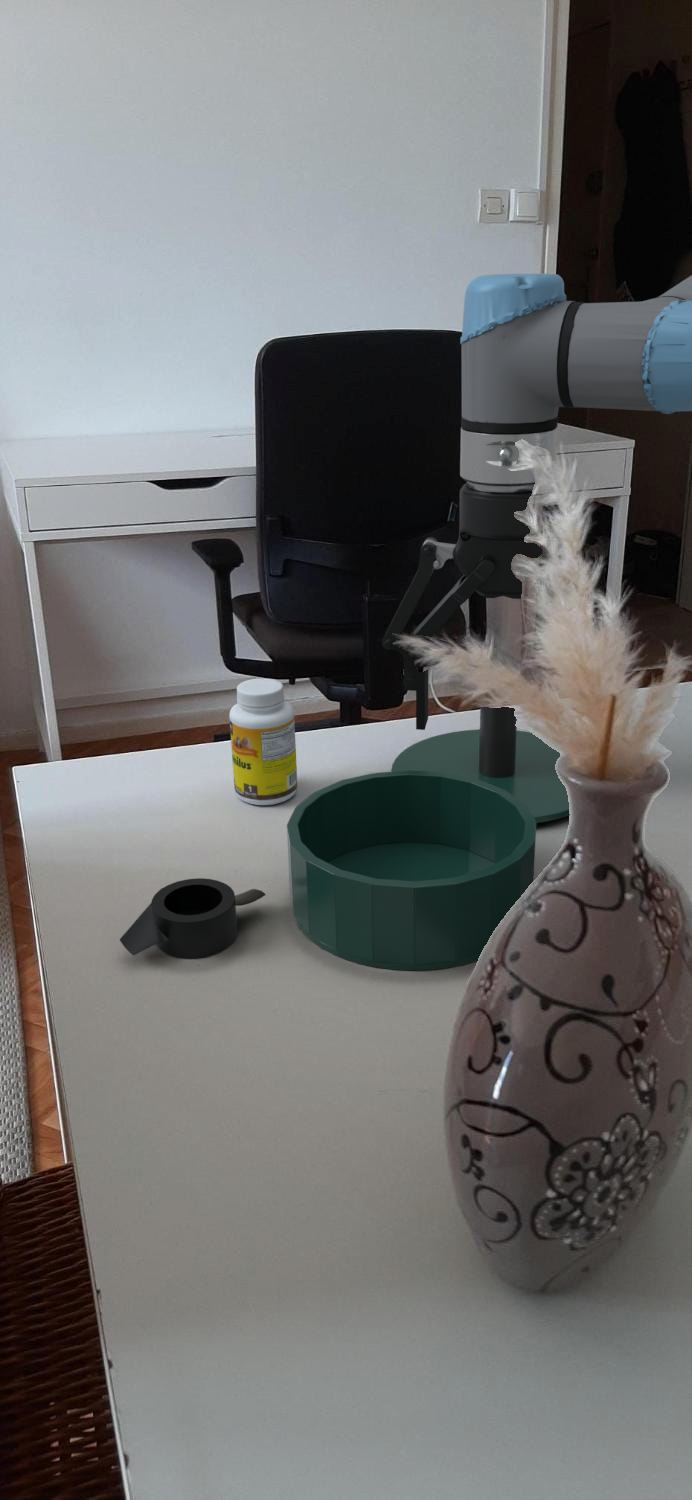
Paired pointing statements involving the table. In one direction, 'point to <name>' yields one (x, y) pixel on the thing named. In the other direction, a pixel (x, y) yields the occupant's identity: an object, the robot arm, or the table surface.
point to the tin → (408, 867)
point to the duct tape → (189, 919)
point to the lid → (496, 761)
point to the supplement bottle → (263, 743)
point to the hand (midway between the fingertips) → (499, 727)
